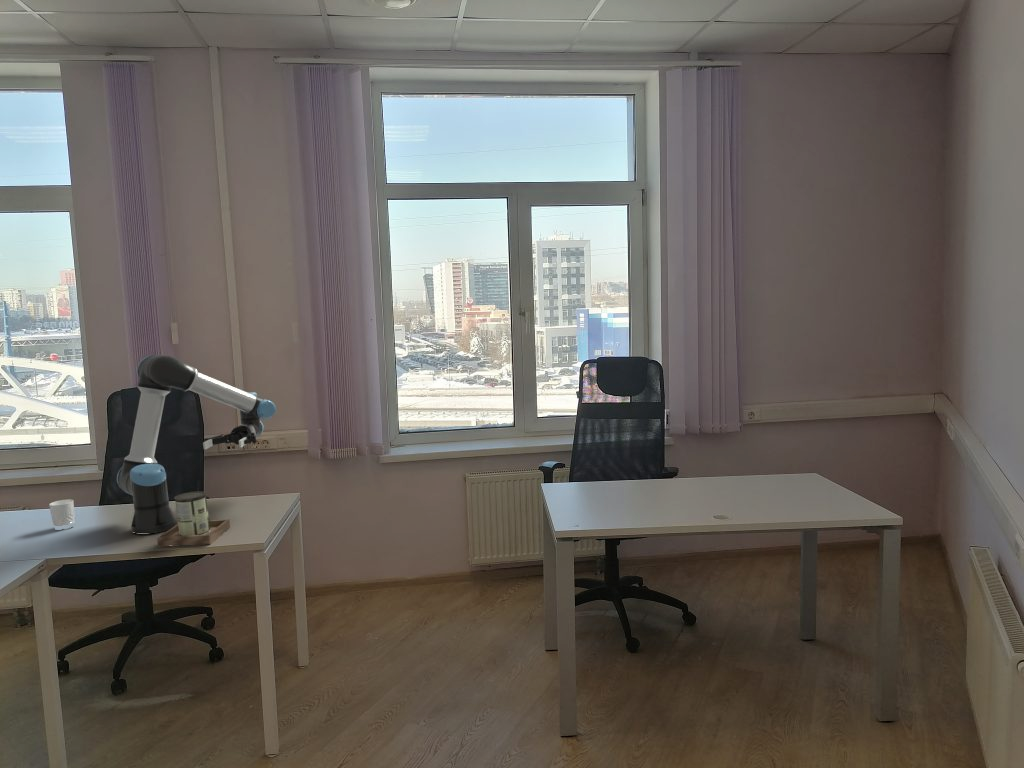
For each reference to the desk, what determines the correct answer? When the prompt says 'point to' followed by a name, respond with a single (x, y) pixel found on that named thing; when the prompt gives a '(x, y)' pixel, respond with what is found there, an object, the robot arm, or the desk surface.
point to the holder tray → (174, 539)
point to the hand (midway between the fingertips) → (222, 445)
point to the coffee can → (192, 513)
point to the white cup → (62, 512)
